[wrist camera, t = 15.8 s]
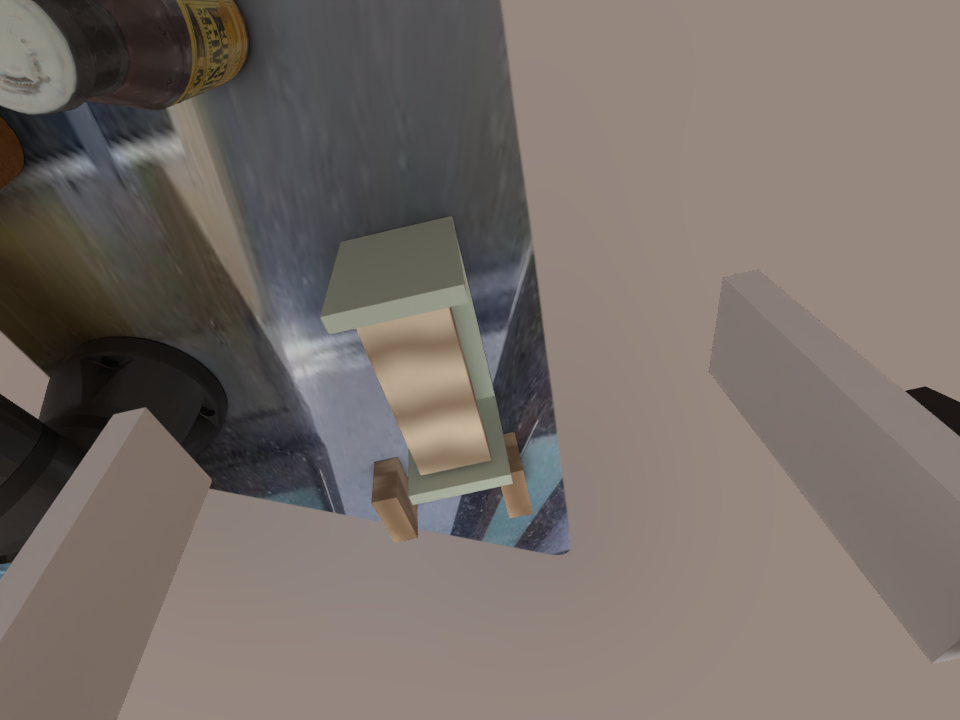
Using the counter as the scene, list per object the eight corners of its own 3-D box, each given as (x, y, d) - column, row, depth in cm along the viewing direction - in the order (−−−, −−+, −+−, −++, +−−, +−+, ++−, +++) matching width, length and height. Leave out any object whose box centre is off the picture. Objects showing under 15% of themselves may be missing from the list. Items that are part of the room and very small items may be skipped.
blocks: (395, 502, 66) (394, 542, 61) (374, 462, 60) (371, 502, 55) (523, 475, 65) (532, 513, 60) (514, 431, 59) (523, 470, 55)
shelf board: (358, 309, 37) (355, 327, 35) (446, 288, 37) (448, 306, 35) (420, 455, 48) (420, 475, 46) (488, 440, 48) (491, 460, 46)
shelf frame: (495, 399, 55) (513, 483, 46) (412, 417, 56) (412, 505, 46) (451, 215, 41) (464, 284, 32) (340, 241, 42) (320, 317, 32)
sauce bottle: (235, 100, 34) (90, 198, 19) (138, 39, 31) (-126, 95, 16) (270, 9, 31) (133, 36, 16) (167, -68, 29) (-121, -125, 13)
